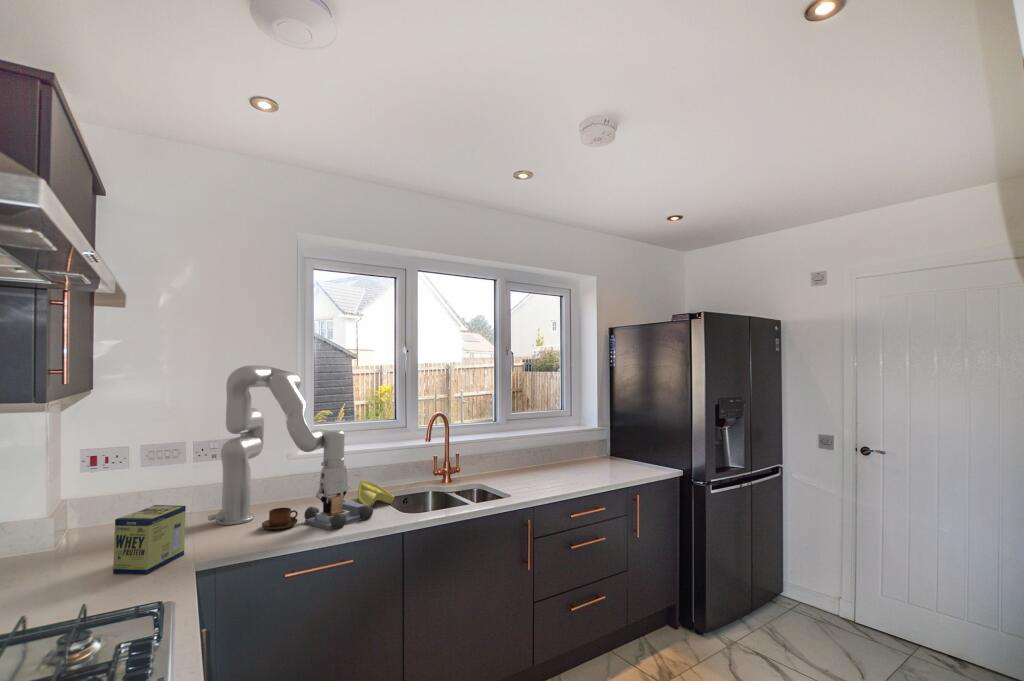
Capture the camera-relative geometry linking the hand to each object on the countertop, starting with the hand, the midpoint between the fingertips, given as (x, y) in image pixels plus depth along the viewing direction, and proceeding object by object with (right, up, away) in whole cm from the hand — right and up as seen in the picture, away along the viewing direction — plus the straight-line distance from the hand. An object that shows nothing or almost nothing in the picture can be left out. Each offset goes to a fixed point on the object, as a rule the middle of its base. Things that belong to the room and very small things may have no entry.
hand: (332, 510), depth 191 cm
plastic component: (+8, -6, +30) cm, 32 cm away
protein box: (-40, -2, -41) cm, 57 cm away
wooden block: (0, -1, 0) cm, 1 cm away
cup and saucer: (-17, -4, -6) cm, 19 cm away
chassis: (+2, -4, +2) cm, 5 cm away
